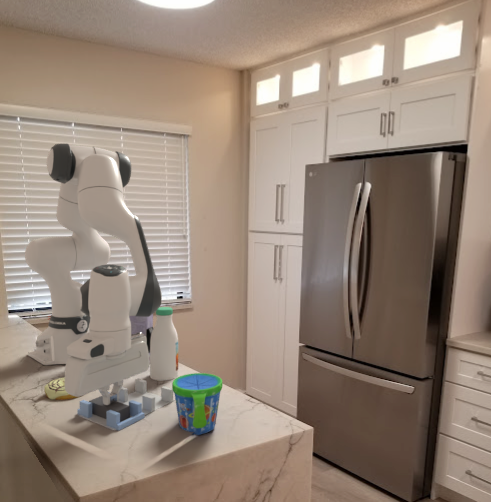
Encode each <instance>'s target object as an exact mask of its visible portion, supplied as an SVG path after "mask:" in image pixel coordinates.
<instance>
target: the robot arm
mask: <svg viewBox="0 0 491 502" xmlns="http://www.w3.org/2000/svg"><path fill="white" fill-rule="evenodd" d="M46 167H47V168H46V169H47V171H48V175H49V177H50V178H51V179H52V180H53V181H55V182H58V183H60V187H59V191H58V199H57V208H56V212H55V214H56V217H55V218H56V219H57V222H58V224H60V225H61V226H62V227H64V228H65V229H67V230H69V231H72V234H71V236H46V237H39V238H37V239H36V238H35V239H32V240H31V241H29V243H28V244H27V246H26V248H25V250H24V259H25V262H26V264H27V266H28V267H29V269H31V270H32V271H34V272H35V273H37V274H38V275H40V277H42V279H43V280H44V281H45V283H46V284H47V286H48V289H49V292H50V301H51V302H50V303H51V315H48V316H47V317H48V318H47V320H48V324H47V326H48V327H46V328H45V329H44V330H43V331H42V332H41V333H40V334H38V335H37V337H36V339H35V340H36V341H35V349H32V350H29V352H28V353H27V356H28V357H30V358H32V359H33V360H35V361H37V362H38V363H40V364H41V365H44V366H51V365H52V366H53V365H65V368H64V377H65V390H66V392H67V393H68V394H70V395H73V396H76V397H77V398H80V397H83V396H84V395H87V394H90V393H93V392H96V391H98V392H99V393H100V394H101V396H103V403H104V404H105V405H109V404H111V403H114V402H116V401H118V400H119V393H120V390H121V388H122V387H124V386H123V385H124V380H126V379H127V380H128V379H129V378H132V377H135V376H137V375H140V374H142V373H145V372H148V370H149V368H150V365H149V353H148V347H147V338H146V336H145V335H144V334H142V333H141V332H139V333H136V334H132V335H131V321H130V318H129V316H140V317H149V316H151V315H152V314H153V315H154V313H156V310H157V309H158V308H160V307H162V306H161V305H162V296H163V295H162V293H163V292H162V288H161V286H160V284H159V281H158V280H159V279H158V277H157V275H156V271H155V269H154V266H153V261H152V257H151V254H150V251H149V247H148V243H147V238H146V236H145V233H144V229H143V225H142V224H141V221H140V219H139V216H137V215H136V214H135V213H133V212H132V211H130V209H129V208H128V206H127V205H126V201H125V198H124V197H125V195H124V188H125V187H126V186H127V185H128V184H129V182H130V180H131V177H132V173H133V172H132V170H133V169H132V162H131V160H130V158H129V156H128V155H126V154H125V153H122V152H119V151H116V150H115V151H114V150H113V151H112V150H110V149H109V150H108V149H105V148H102V147H98V146H88V145H78V144H77V145H76V144H69V143H56V144H54V145H53V146H52V147H51V148H50V151H49V152H48V155H47V157H46ZM99 232H100V233H103V234H107V235H109V236H112V237H114V238H116V239H119V240H120V241H122V242H123V243H125V244H126V245H127V246H128V249H129V251H130V255H131V258H132V264H133V266H134V271H135V274H134V275H129V272H128V270H127V268H126V267H124V266H122V265H119V264H108V263H109V261H110V259H111V255H112V253H111V247H110V245H109V243H108V241H106V240H105V239H104V238H103V237H102V236H101V235H100V233H99ZM75 271H76V272H78V271H90V277H89V279H87V280H86V281H85V282H84V283H81V282H79V281H76V280H74V279H72V276H71V272H75ZM111 385H113V386H112V388H110V386H111ZM110 389H111V391H109V390H110ZM109 392H110V393H109Z"/></svg>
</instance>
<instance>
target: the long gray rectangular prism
mask: <svg viewBox="0 0 491 502" xmlns="http://www.w3.org/2000/svg"><path fill="white" fill-rule="evenodd" d="M88 402H91V403H92V414H94V415H97V416H99V417H102V418H104V419H107V416H106V411H109V410H112V411H115V412H118V413H120V422H122V421H124V420H126V419H128V418H130V406H129V405H126V404H123V403H120V402H117V401H116V402H114V403H111V404H109V405H105V404H104V403H103V396H102V395H101V396H98V397H96V398H93V399H90V400H88Z"/></svg>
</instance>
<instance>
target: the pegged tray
mask: <svg viewBox="0 0 491 502" xmlns="http://www.w3.org/2000/svg"><path fill="white" fill-rule="evenodd" d="M147 384H148V383H147V380H145V379H141V378H135V379H134V391H133V392H131V393H129V388H127V387H124V386H122V388H121V390H120V393H119V400H118V401H117V402H120V403H123V404H126V405H129V406H130V418H128V419H126V420H124V421H122V422H120V413H118V412H115V411H112V410H109V411H106V416H107V419H104V418H102V417H99V416H97V415H94V414H92V403H91V402H89V400H88V401H87V400H86V399H82V400H80V401H79V408H77V417H80V418H83V419H85V420H87V421H90V422H92V423H95V424H98V425H100V426H103V427H105V428H106V429H110V430H112V431H121V430H123V429H125V428H126V427H129V426H131V425H133V424H135V423H137V422H139V421H141V420H143V419H145V416H147V415H148V414H151V413H152V412H155V411H156V410H159V409H161V408H163V407H165V406H167V405H169V404H171V403H173V402H176V401H175V400H174V392H173V389H172V387H168V386H165V385H163V386H161V387H160V392H161V393H160V395H159V394H156V393H152V392H148V391H147V387H148V386H147ZM108 392H109V393H111V391H108Z"/></svg>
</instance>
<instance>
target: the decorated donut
mask: <svg viewBox="0 0 491 502" xmlns="http://www.w3.org/2000/svg"><path fill="white" fill-rule="evenodd" d="M43 390H44V394H45V396H46V398H47V399H49V400H52V401H53V400H56V401H57V400H58V401H60V400H61V401H62V400H72V399H76V398H78V397H76V396H73V395H70V394H68V393H67V392H66V390H65V376H64V377H58V378H56V379H53V380H51V381H49V382H48V383H46V385H44V387H43Z"/></svg>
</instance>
